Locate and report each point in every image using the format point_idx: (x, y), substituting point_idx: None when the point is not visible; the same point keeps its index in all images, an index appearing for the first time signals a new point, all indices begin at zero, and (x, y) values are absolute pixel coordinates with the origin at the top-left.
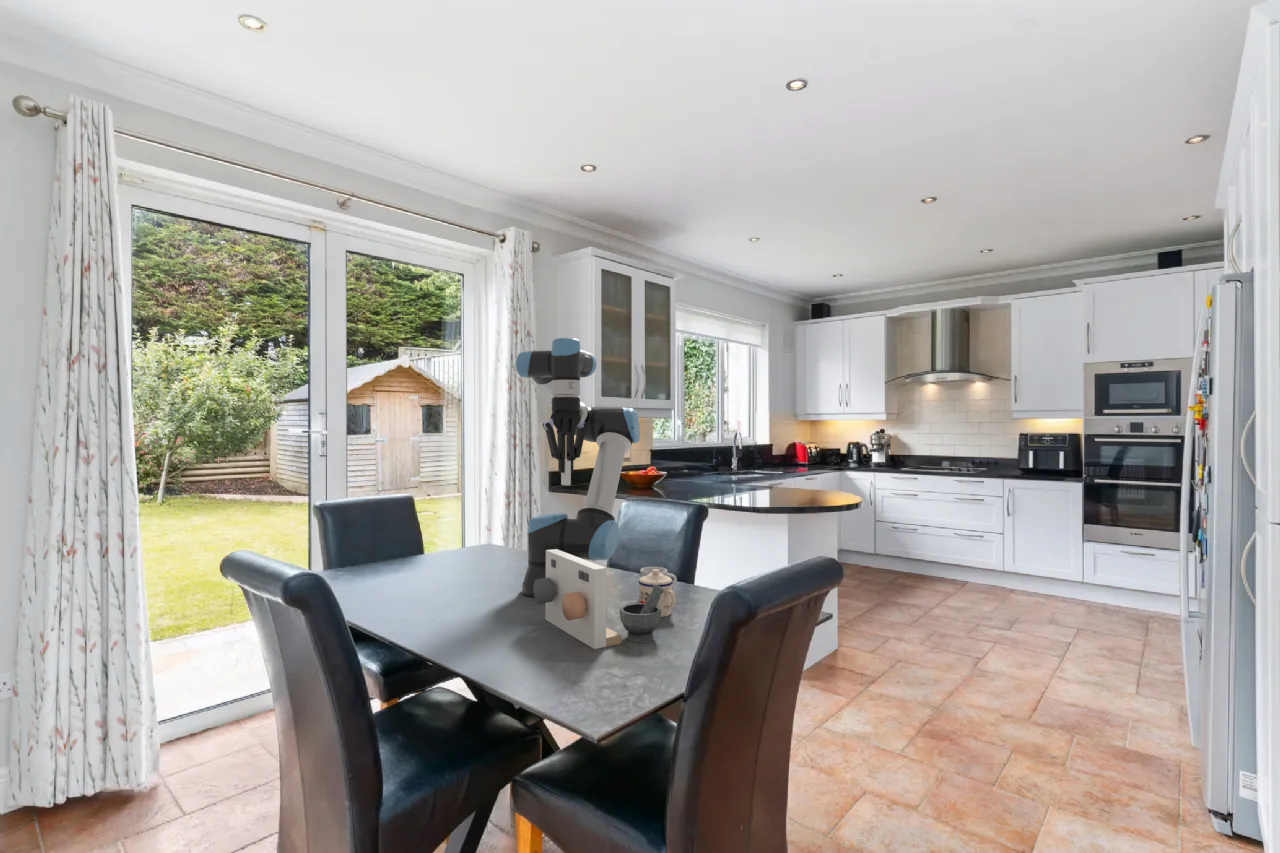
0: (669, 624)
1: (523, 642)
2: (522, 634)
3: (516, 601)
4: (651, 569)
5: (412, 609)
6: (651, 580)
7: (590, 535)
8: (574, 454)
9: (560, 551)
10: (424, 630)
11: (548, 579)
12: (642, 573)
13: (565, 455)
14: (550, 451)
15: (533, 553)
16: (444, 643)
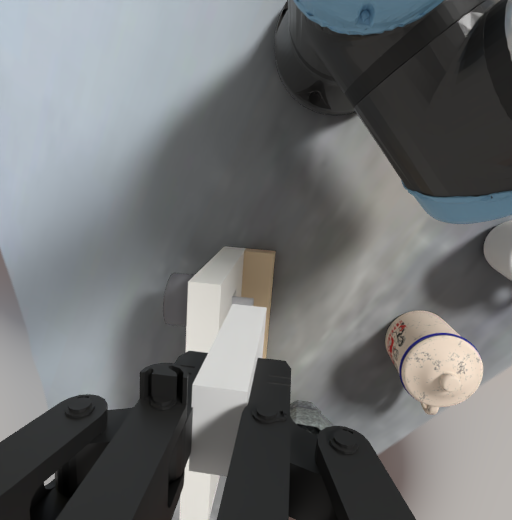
0: (388, 400)
1: (141, 326)
2: (155, 292)
3: (236, 87)
4: None
5: (28, 10)
6: (417, 387)
7: (422, 185)
8: (296, 517)
9: (213, 321)
10: (22, 171)
11: (184, 316)
12: (506, 253)
13: (172, 512)
14: (8, 439)
15: (290, 20)
16: (36, 256)
